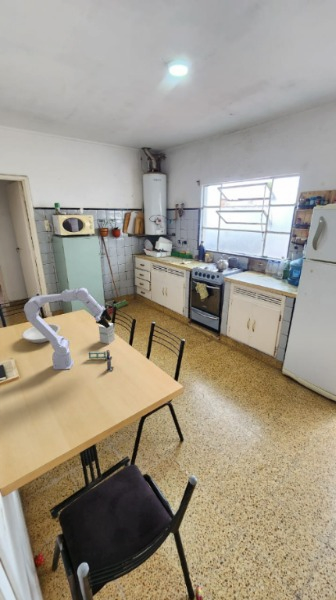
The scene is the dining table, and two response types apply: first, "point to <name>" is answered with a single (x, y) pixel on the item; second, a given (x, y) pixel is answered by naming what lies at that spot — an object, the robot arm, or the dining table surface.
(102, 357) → the gate
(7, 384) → the dining table surface
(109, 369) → the post
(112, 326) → the supplement box
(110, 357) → the hinge post
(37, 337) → the soup bowl
